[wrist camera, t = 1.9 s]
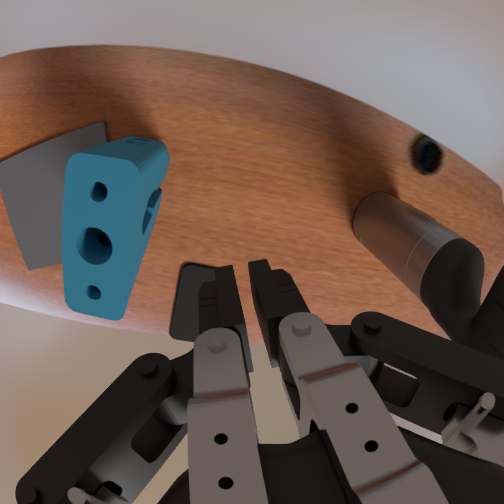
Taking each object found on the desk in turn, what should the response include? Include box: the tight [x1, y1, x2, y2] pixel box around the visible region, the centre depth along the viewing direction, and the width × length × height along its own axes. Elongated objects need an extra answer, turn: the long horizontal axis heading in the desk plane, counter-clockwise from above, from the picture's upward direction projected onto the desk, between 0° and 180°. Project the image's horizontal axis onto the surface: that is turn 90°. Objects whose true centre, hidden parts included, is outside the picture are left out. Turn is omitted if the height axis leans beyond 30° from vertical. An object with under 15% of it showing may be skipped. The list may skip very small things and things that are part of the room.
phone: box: [170, 263, 216, 342], centre depth 45 cm, size 7×1×15 cm
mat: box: [0, 121, 108, 270], centre depth 33 cm, size 20×18×1 cm
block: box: [62, 136, 169, 320], centre depth 26 cm, size 12×5×20 cm, turn 163°
